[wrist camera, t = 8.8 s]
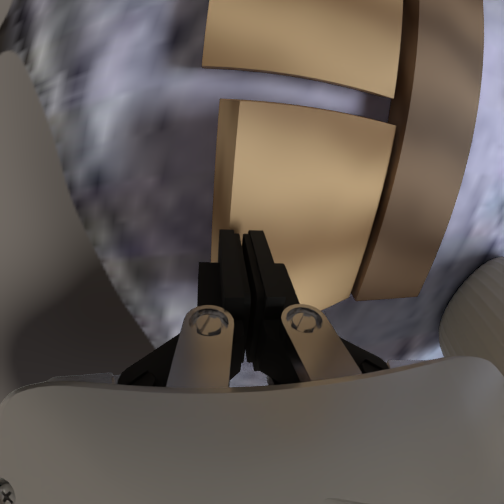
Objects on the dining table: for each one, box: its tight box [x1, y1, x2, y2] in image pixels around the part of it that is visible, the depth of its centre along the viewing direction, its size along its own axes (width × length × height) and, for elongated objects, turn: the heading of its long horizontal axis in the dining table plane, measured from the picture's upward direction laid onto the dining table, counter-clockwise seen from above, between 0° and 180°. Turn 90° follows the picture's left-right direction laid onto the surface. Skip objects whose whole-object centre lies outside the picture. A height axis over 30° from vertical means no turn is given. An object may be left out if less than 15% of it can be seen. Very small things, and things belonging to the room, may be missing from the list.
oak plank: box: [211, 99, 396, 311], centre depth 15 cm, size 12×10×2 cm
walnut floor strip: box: [351, 0, 484, 301], centre depth 14 cm, size 26×6×2 cm, turn 174°
